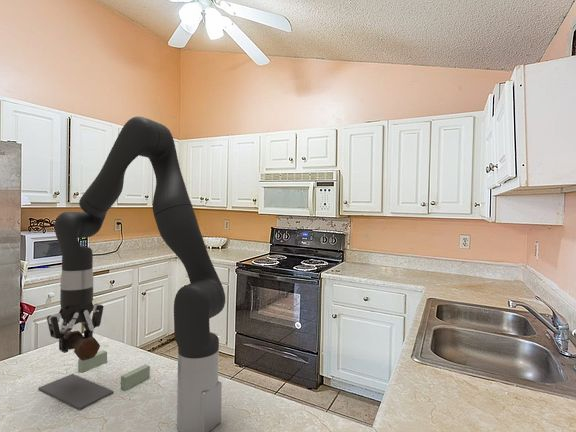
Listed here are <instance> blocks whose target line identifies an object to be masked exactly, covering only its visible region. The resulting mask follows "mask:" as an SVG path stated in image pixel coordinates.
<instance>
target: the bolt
mask: <svg viewBox="0 0 576 432" xmlns="http://www.w3.org/2000/svg"><path fill="white" fill-rule="evenodd" d="M68 338H69V344H68V351H69V350H70V351H71V350H73V353H74V354H75V355H76V357H78V360H79V359H80V360H81V361H83V360H88V359H91V358H93V357H95V355H96V354H97V352H99V350H100V348H101V345H100V343H99V341H98V339H96V338H95V337H94V336H93V337H89V338H84V334H83V333H82V332H81V331H79V330H74V331H72V330H71V331H70V333H69V335H68Z"/></svg>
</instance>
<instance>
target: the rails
mask: <svg viewBox="0 0 576 432" xmlns="http://www.w3.org/2000/svg"><path fill="white" fill-rule="evenodd" d="M77 360H78V361H77V362H78V364H77V365H78V366H77V371H78V372H80V373H85V372H87V371H89V370H92V369H94V368H97V367H100V366H102V365H104V364H106V363H108V351H106V350H104V349H103V350H100V351H98V352H97V354H96V355H95V357H93V358H91V359H88V360H83V361H81V360H80V359H79V358H78V359H77ZM150 375H151V366H150V365H148V364H143V365H141V366H139V367H137V368H135V369H133V370H130V371H129V372H127V373H124V374H122V375H120V389H121V390H123V391H127V390H129V389H131V388H133V387H135V386H137V385H138V384H140V383H142V382H144V381H147V380H149V379H150V377H151V376H150Z"/></svg>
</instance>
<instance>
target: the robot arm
mask: <svg viewBox="0 0 576 432" xmlns="http://www.w3.org/2000/svg"><path fill="white" fill-rule="evenodd" d="M176 149H177V147H176V145H175V140H174V137H173V134H172V132H171V130H170V129H169V128H168V127H167V126H165V125H164V124H162V123H159V122H157V121H154V120H152V119H150V118H146V117H144V116H134V117H131V118H130V119H128V120H127V121H126V123H125V124H124V125H123V126H122V128H121V129H120V131H119V133H118V135H117V138H116V139H115V141H114V143H113V145H112V147H111V149H110V150H109V153H108V155H107V158H106V159H105V162H104V164H103V166H102V167H101V169H100V171H99V172H98V174H97V176H96V177H95V178H94V180H93V181H92V183H90V185H89V186H88V187H87V189H86V191H84V193H83V194H82V195H81V197H80V198H79V201H78V204H79V208H80V209H81V210H82V211H65V212H62V213H60V214H58V216H57V217H56V219H55V222H54V233H55V236H56V239H57V243H58V247H59V250H60V253H61V274H60V284H59V287H60V294H59V295H60V298H59V301H60V302H59V303H60V310H59V312H58V313H56V314H54V315H52V314H51V315H47V317H46V321H47V322H46V323H47V325H48V330H49V335H50V337H51V338H53V339H56V340H58V349H59V351H61V353H63V354H66V353H68V352H69V349H68V344H69V338H68V335H69V333H70V331H72V330H73V328H74V326H75V325H77V324H82V326H83V327H84V329H85V330H84V331H83V336H84V338H89V337H94V336H93V334H94V330H95V328H97V327H100V326H101V323H102V318H103V312H104V305H102V304H100V303H96V304H94V303H93V301H94V271H93V270H94V269H93V264H94V263H93V260H94V259H93V258H94V255H93V254H94V253H93V250H92V248H90V247H88V246H83V245H81V244H80V241H79V239H80V238H82V239H84V238H90V237H93V236H95V235H97V233H99V231H100V230H101V228H102V226H103V224H104V221H105V219H106V216H107V213H108V211H109V209H111V208H112V207H113V205H114V204H115V202H116V201H118V198H119V197H120V195H121V194H122V191H123V189H124V180H125V174H126V172H127V171H126V170H127V169H128V167H129V166H130V165H131V163H132V162H133V161H134V160H135V159H137V158H138V157H142V158H143V157H144V158H148V159H149V160H148V161H150V163H151V166H152V169H153V173H154V175H155V181H156V182H155V188H154V193H153V199H152V212H153V217H154V220H155V223H156V228H157V230H158V232H159V235H160V237H161V238H162V240H163V242H164V243H165V244H166V245H167V246H168V247H169V249H170V250H171V251H172V253H174V254H175V255H176V256H177V258H178V259H179V260H180V261H181V263H182V264H183V266H184V268H185V271H186V273H187V276H188V280H189V283H188V284H186V285H183V286H181V287H180V288H179V289H178V290H177V292H176V294H175V296H174V301H173V328H174V339H175V342H176V344H177V383H176V384H177V387H176V389H177V390H176V397H177V398H176V428H177V431H178V432H211V431H212V430H213V429H214V428H215V427H216V426H217V425H218V424H220V423H221V422H222V388H223V385H222V381H219V362H220V361H219V359H220V358H219V356H220V353H219V352H220V350H219V349H220V340H219V337H218V335H217V334H215V333H213V332H211V331H210V329H211V328H210V319H211V318H214V317H215V316H217V315H220V313H221V312H222V311H223V310H224V308H225V304H226V294H225V289H224V287H223V283H222V281H221V280H220V278H219V275H218V274H217V271H216V269H215V266H214V265H213V262H212V260H211V256H210V254H209V252H208V249H207V247H206V244H205V240H204V238H203V235H202V232H201V229H200V226H199V223H198V219H197V215H196V213H195V210H194V208H193V204H192V202H191V198H190V196H189V194H188V190H187V187H186V183H185V180H184V177H183V175H182V172H181V168H180V163H179V158H178V153H177V150H176ZM91 313H92V318H91ZM61 319H62V321H61ZM60 321H61V324H60V325H59V323H60Z"/></svg>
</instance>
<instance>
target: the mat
mask: <svg viewBox="0 0 576 432" xmlns="http://www.w3.org/2000/svg"><path fill="white" fill-rule="evenodd" d="M37 389H38V391H39V392H42V393H44V394H46V395H48V396H50V397H52V398H54V399H56V400H58V401H60V402H62V403H64V404H65V405H68V406H70V407H72V408H73V409H76V410H78V411H81V410H83V409H85V408H87V407H89V406H91V405H93V404H95V403H97V402H99V401H101V400H103V399H105V398H107V397H108V396H110V395H113V394H114V393H115V391H114V390H112V389H110V388H108V387H105V386H103V385H101V384H98V383H96V382H94V381H90V380H89V379H86V378H85V377H84V378H83V377H81V376H79V375H77V374H74V373H70V374H68V375H66V376H64V377H60V378H59V379H56V380H53V381H51V382H48V383H47V384H44V385H41V386H39V387H38V388H37Z"/></svg>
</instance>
